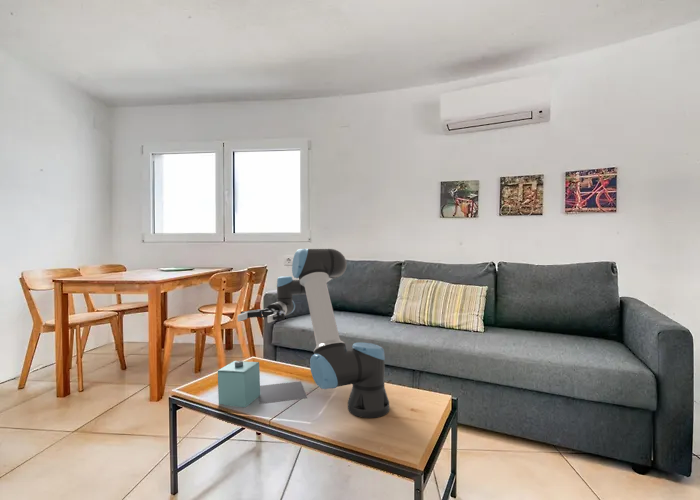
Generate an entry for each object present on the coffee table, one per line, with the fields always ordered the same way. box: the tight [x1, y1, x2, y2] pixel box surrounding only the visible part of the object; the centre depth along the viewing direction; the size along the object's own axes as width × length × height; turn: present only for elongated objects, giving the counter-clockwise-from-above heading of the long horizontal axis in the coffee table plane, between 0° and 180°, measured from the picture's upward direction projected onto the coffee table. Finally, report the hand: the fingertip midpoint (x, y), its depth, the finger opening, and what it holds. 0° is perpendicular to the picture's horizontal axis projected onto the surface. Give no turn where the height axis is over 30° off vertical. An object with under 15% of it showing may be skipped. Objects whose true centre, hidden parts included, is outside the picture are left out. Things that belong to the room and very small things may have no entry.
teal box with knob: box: [217, 360, 261, 408], centre depth 130 cm, size 11×11×14 cm
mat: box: [258, 381, 308, 405], centre depth 138 cm, size 18×18×1 cm
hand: (253, 318), depth 140 cm, fingers open, 13 cm apart
